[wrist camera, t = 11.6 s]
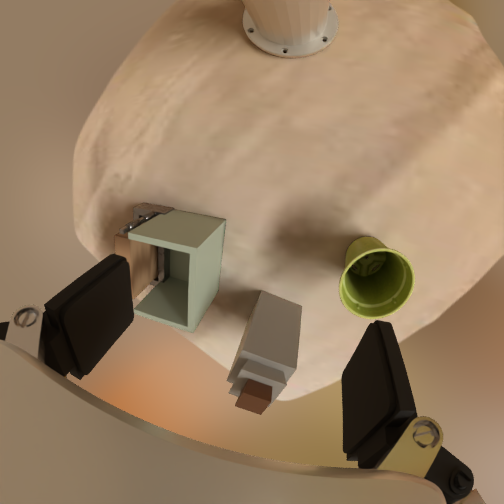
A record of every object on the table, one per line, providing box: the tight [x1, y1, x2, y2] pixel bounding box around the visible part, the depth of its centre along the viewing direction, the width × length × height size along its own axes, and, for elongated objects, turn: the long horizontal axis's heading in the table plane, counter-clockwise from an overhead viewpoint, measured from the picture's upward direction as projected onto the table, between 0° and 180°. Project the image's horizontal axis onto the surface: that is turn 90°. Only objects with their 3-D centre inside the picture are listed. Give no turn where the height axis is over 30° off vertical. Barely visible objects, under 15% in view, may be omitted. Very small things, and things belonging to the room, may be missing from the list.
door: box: [114, 222, 158, 299], centre depth 38 cm, size 9×3×10 cm, turn 172°
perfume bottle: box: [227, 291, 302, 415], centre depth 35 cm, size 7×7×18 cm
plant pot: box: [339, 237, 415, 319], centre depth 32 cm, size 9×9×9 cm
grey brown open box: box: [120, 203, 174, 286], centre depth 37 cm, size 13×6×11 cm, turn 172°
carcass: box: [128, 210, 226, 333], centre depth 36 cm, size 12×9×11 cm
